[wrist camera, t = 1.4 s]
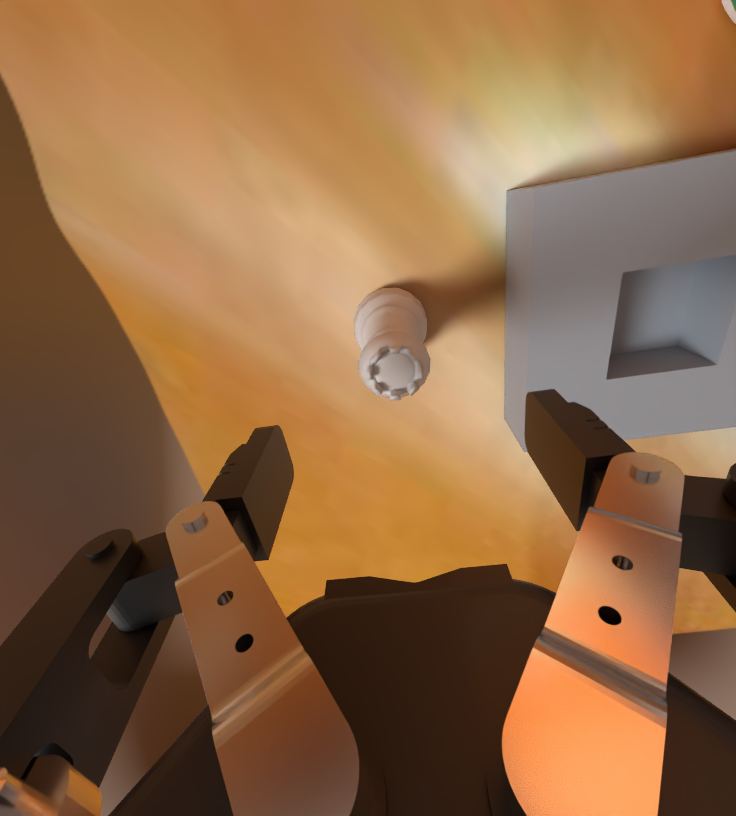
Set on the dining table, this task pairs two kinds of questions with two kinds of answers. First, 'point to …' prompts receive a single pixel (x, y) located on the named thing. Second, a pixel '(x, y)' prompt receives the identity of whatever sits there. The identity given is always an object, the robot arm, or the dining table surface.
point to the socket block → (626, 296)
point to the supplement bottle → (730, 8)
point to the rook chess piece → (392, 343)
